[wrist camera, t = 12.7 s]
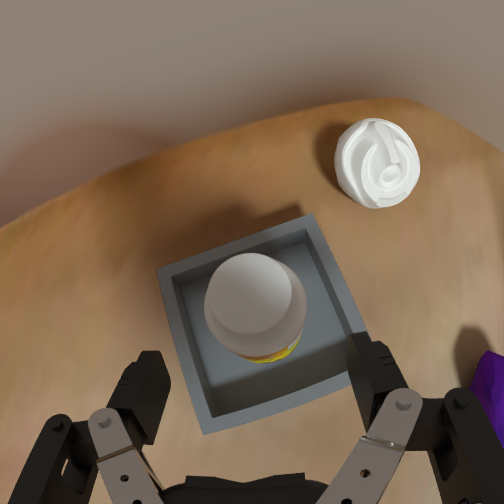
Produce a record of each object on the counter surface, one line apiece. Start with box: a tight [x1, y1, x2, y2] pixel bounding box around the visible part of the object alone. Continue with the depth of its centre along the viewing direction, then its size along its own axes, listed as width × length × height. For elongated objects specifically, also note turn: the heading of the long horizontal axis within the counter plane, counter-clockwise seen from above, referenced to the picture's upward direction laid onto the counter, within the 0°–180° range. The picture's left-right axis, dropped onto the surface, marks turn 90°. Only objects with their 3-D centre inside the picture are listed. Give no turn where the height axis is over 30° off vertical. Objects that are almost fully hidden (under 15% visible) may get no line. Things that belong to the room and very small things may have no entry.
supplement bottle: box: [204, 253, 307, 364], centre depth 19 cm, size 6×6×10 cm
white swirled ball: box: [334, 118, 420, 208], centre depth 25 cm, size 8×8×8 cm
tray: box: [156, 213, 371, 435], centre depth 23 cm, size 13×13×4 cm
